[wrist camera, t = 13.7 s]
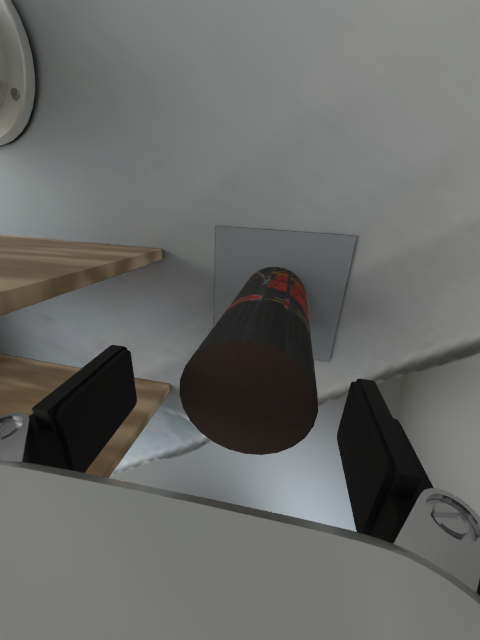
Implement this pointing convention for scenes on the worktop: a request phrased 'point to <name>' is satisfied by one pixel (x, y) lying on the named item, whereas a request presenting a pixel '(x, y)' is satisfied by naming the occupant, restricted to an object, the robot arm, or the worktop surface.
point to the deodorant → (256, 369)
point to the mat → (296, 256)
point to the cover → (52, 280)
